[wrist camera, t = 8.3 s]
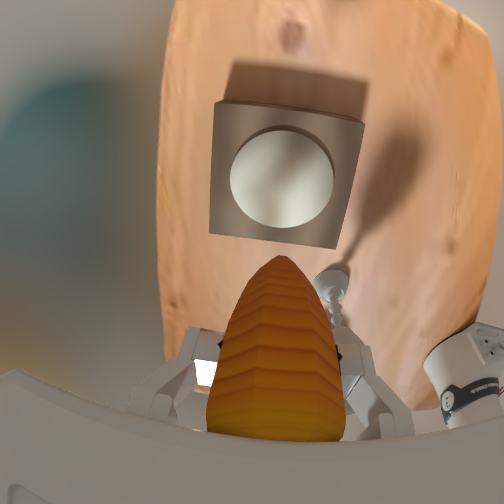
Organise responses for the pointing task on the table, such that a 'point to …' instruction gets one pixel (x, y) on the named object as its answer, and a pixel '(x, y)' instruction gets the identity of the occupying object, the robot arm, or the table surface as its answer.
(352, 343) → the chalice
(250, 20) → the table surface
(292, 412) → the carrot
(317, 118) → the walnut plinth
